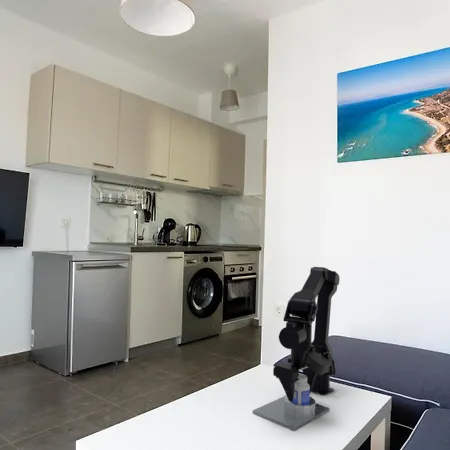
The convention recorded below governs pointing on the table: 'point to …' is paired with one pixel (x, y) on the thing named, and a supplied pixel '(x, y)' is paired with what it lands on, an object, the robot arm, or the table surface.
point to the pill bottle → (301, 391)
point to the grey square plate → (291, 412)
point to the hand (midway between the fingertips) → (299, 396)
